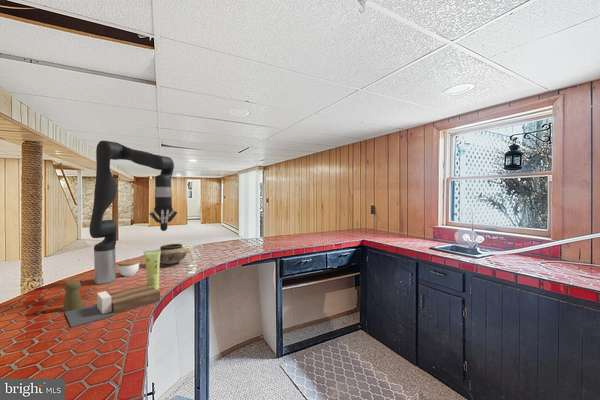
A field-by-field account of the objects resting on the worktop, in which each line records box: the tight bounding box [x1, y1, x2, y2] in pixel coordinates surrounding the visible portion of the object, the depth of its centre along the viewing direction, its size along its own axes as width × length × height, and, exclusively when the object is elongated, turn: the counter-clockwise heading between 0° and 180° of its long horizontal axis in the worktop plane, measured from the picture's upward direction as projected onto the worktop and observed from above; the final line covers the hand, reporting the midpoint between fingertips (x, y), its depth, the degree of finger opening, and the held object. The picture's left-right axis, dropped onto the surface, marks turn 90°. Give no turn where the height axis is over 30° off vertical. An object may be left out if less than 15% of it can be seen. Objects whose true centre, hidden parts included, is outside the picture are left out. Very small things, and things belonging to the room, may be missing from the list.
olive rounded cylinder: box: [62, 280, 83, 312], centre depth 109 cm, size 6×6×11 cm
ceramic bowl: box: [152, 243, 192, 267], centre depth 175 cm, size 24×18×15 cm
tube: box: [143, 249, 161, 290], centre depth 130 cm, size 6×5×20 cm
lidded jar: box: [116, 258, 140, 277], centre depth 153 cm, size 11×11×9 cm
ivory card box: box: [96, 290, 112, 314], centre depth 107 cm, size 9×6×3 cm
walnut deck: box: [108, 284, 161, 315], centre depth 114 cm, size 14×17×4 cm
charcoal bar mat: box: [64, 303, 116, 329], centre depth 103 cm, size 17×13×1 cm
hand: (163, 230), depth 131 cm, fingers closed
